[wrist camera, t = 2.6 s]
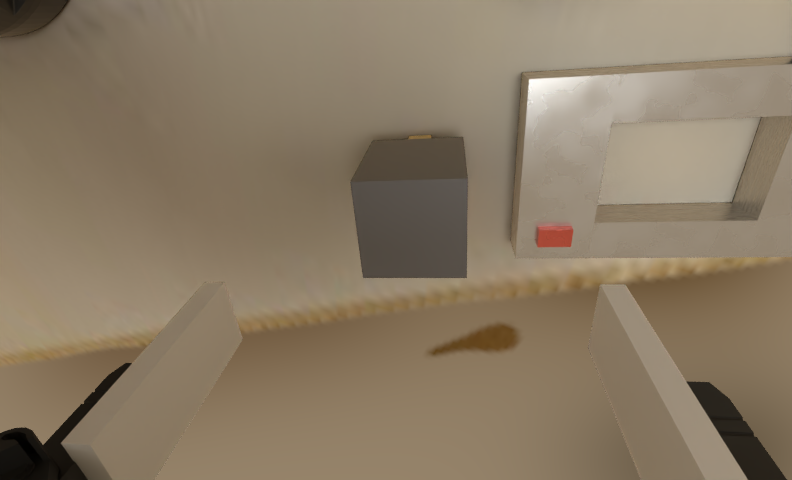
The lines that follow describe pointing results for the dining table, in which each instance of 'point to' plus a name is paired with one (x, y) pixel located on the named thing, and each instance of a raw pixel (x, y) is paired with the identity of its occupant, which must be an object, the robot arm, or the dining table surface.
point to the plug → (412, 208)
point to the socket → (649, 102)
